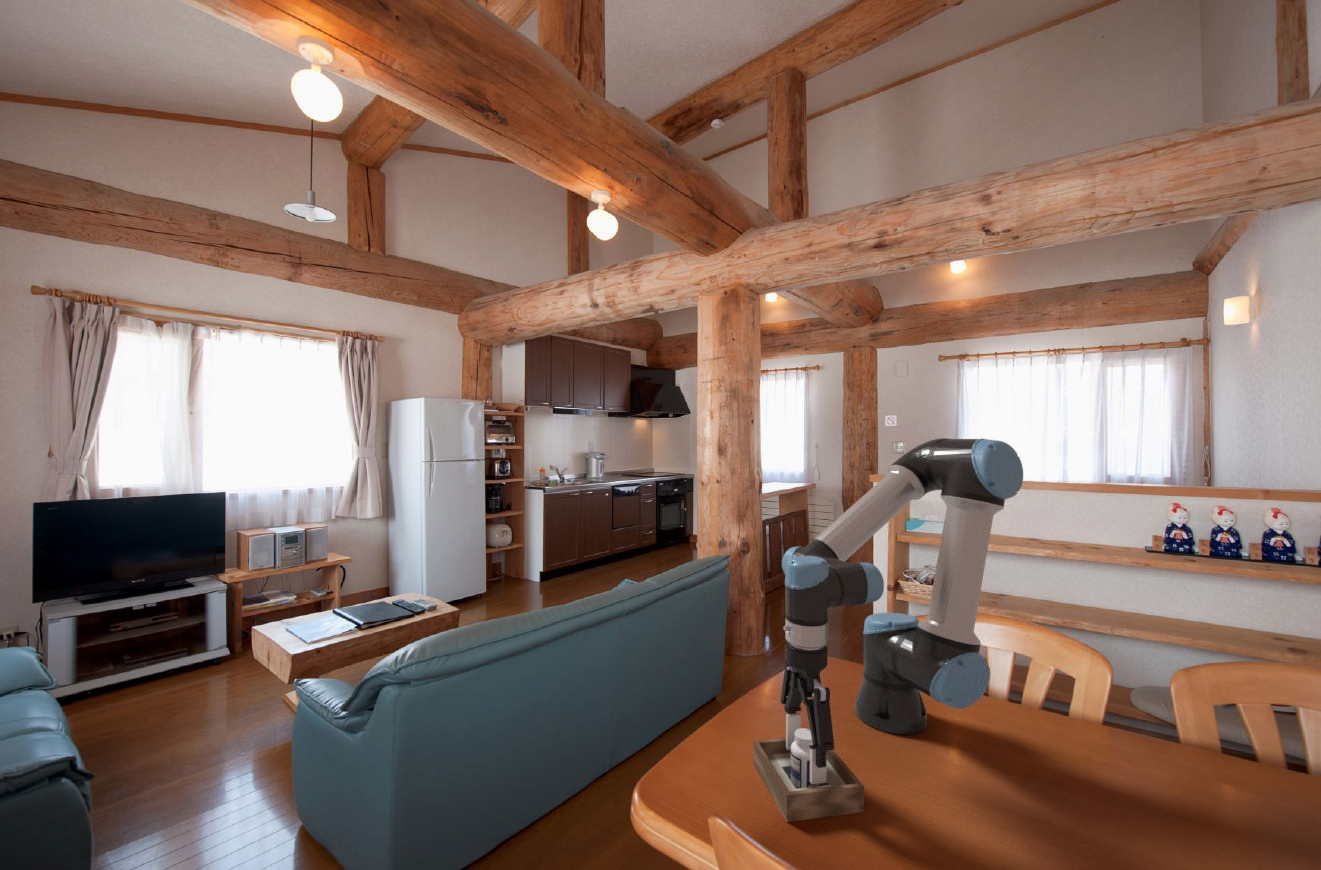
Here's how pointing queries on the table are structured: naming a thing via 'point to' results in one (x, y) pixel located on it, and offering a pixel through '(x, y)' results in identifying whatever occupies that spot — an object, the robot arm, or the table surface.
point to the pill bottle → (801, 759)
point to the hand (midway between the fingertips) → (805, 764)
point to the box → (811, 802)
